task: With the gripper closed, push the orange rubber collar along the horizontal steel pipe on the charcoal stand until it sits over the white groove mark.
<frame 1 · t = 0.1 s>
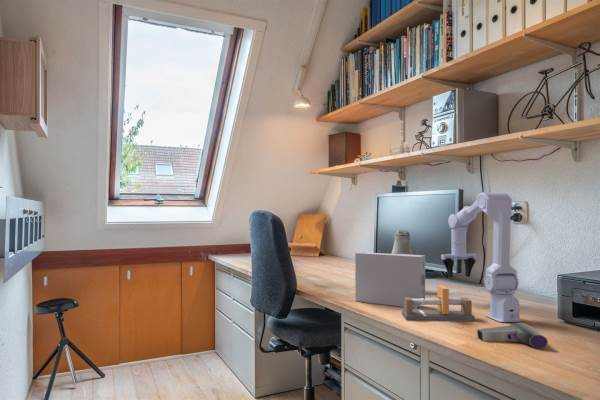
hand: (459, 276, 177), 10 cm above the table, fingers open, 7 cm apart
collar: (442, 299, 151), point 6 cm above the table, slide at 0.0 cm
pipe stand: (437, 317, 151), on the table
infrared thermometer: (511, 344, 122), on the table
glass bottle: (402, 290, 201), on the table
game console: (389, 304, 173), on the table
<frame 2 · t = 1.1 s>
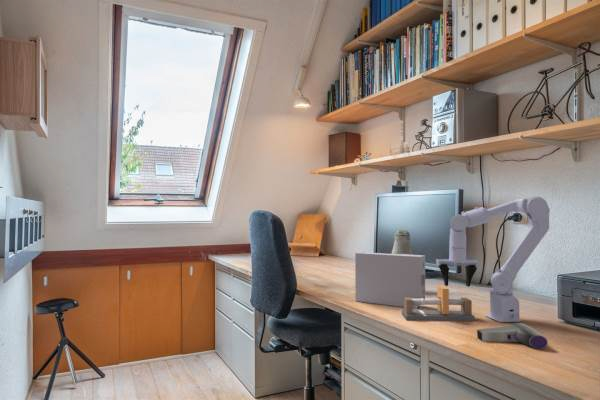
hand: (457, 285, 155), 10 cm above the table, fingers open, 7 cm apart
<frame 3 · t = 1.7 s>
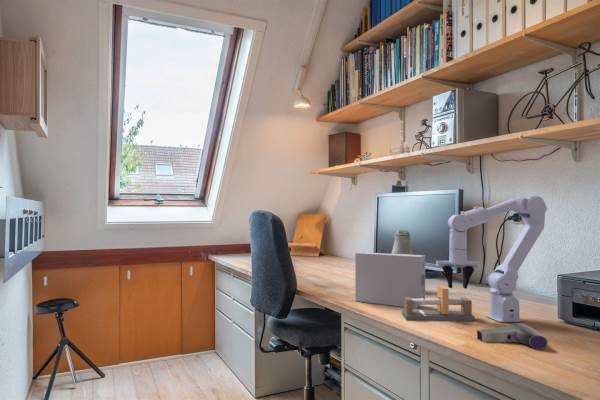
hand: (457, 287, 150), 10 cm above the table, fingers open, 4 cm apart
nothing on the table moved.
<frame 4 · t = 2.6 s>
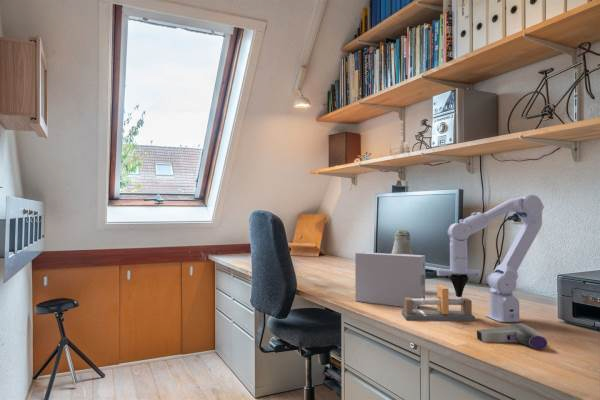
hand: (458, 296, 150), 7 cm above the table, fingers closed
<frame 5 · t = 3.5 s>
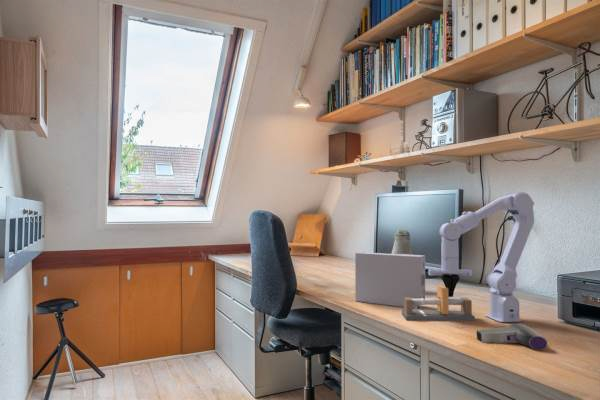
hand: (450, 296, 150), 7 cm above the table, fingers closed
collar: (442, 299, 151), point 6 cm above the table, slide at 0.1 cm, touching gripper
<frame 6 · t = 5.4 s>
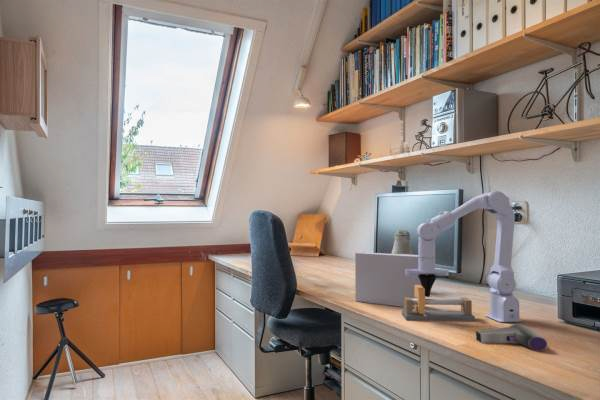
hand: (426, 296, 151), 7 cm above the table, fingers closed
collar: (419, 299, 151), point 6 cm above the table, slide at 8.1 cm, touching gripper
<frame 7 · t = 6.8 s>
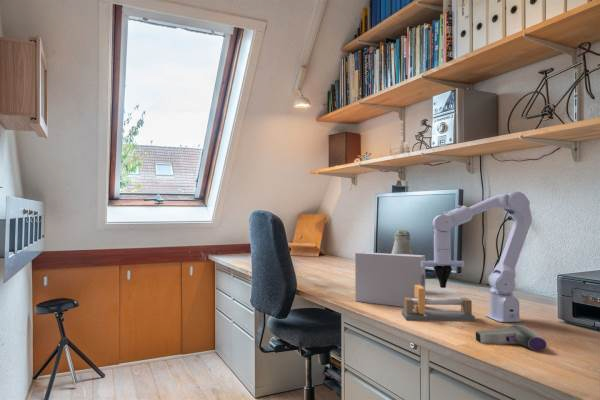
hand: (442, 287, 152), 10 cm above the table, fingers closed
collar: (419, 299, 151), point 6 cm above the table, slide at 8.1 cm
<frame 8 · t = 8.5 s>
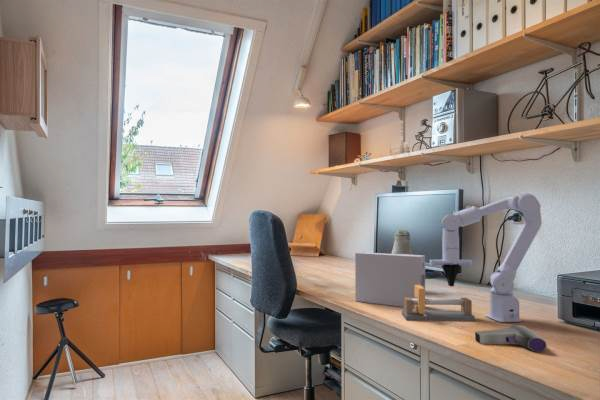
hand: (451, 285, 154), 10 cm above the table, fingers closed
at the end: collar slide at 8.1 cm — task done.
